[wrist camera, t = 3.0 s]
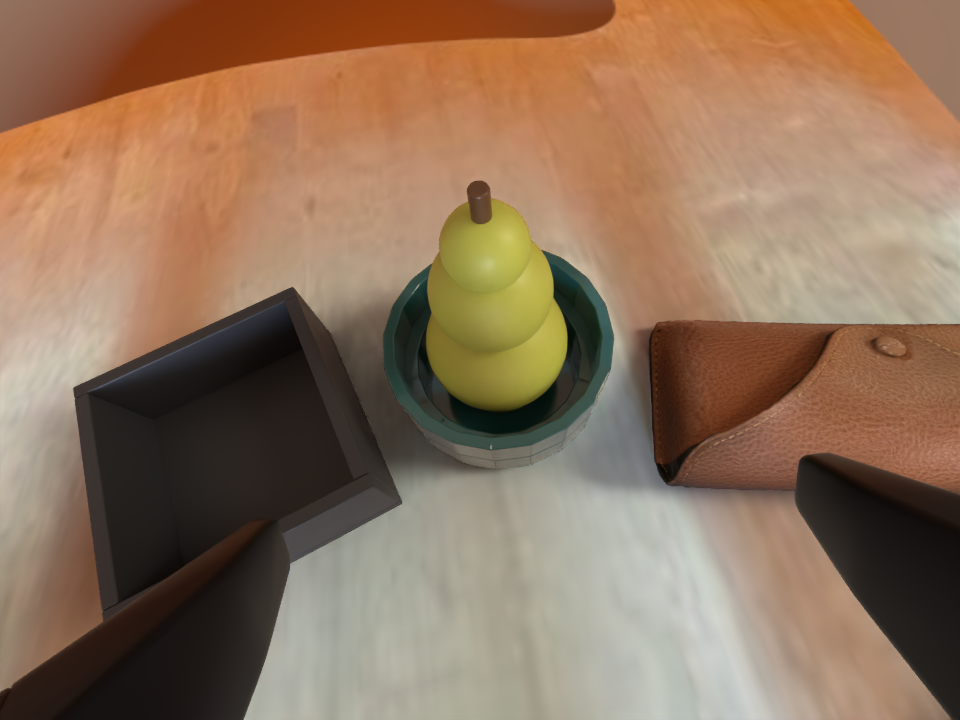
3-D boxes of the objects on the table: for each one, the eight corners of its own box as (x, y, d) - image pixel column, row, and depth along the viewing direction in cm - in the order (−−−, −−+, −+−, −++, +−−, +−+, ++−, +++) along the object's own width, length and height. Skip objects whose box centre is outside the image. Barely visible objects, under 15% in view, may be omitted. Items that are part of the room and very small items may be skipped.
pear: (496, 456, 21) (468, 334, 10) (415, 369, 23) (320, 192, 13) (587, 370, 23) (647, 183, 12) (502, 296, 25) (485, 78, 14)
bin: (402, 503, 22) (373, 486, 17) (189, 617, 20) (103, 629, 16) (330, 332, 26) (292, 285, 21) (149, 418, 24) (72, 387, 20)
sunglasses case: (1034, 316, 22) (1251, 320, 15) (1016, 460, 23) (1216, 523, 16) (640, 320, 24) (685, 325, 17) (637, 454, 25) (678, 509, 18)
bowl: (617, 458, 22) (639, 431, 17) (411, 484, 22) (385, 464, 18) (576, 283, 26) (586, 229, 21) (403, 308, 26) (380, 258, 22)
